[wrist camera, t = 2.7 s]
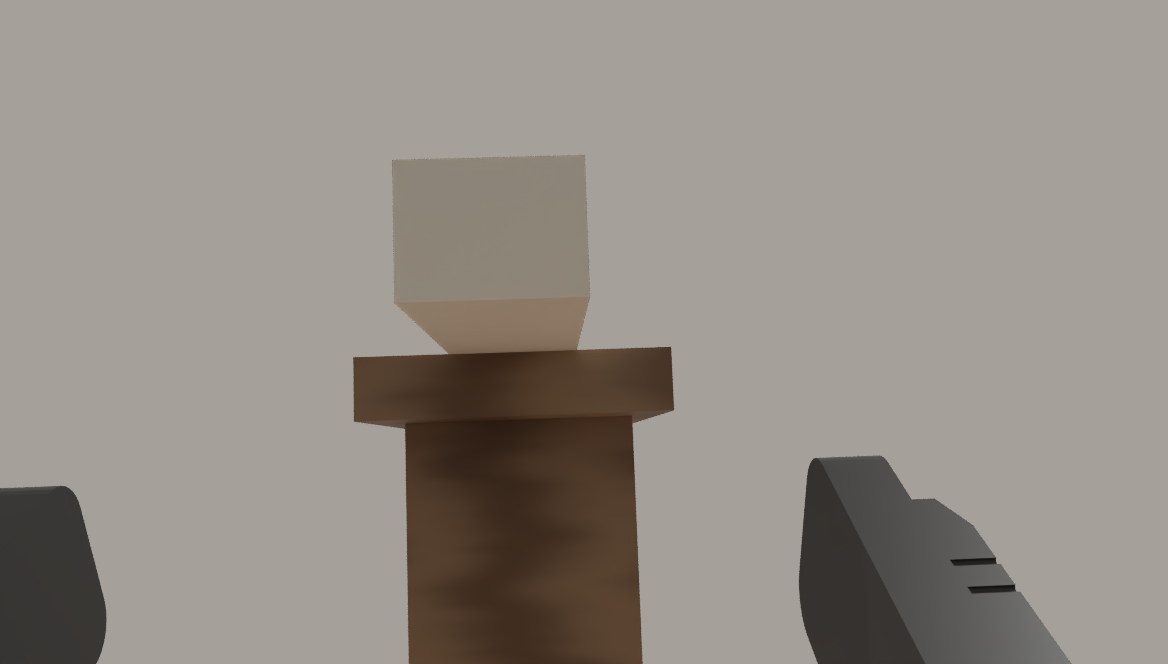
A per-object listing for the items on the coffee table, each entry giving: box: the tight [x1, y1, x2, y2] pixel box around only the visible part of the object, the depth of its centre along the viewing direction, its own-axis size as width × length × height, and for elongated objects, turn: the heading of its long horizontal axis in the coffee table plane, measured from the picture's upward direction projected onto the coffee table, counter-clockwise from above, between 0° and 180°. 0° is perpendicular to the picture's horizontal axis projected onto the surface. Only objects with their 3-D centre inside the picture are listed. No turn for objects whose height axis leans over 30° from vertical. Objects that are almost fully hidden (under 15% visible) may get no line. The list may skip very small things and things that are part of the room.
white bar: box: [392, 155, 590, 354], centre depth 35 cm, size 5×29×6 cm, turn 2°
